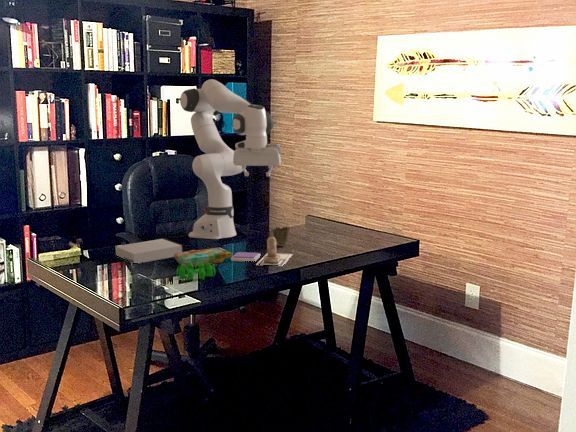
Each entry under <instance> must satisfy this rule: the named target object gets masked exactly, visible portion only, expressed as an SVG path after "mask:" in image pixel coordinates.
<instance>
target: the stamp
mask: <svg viewBox="0 0 576 432" xmlns="http://www.w3.org/2000/svg"><path fill="white" fill-rule="evenodd" d="M266 250H267V253H266V254H267V255H266V254H265V255H264V256H263V257H264V263H273V264H278V263H279V262H280V255H277V254H278V253H277V242H276V239H275V238H274V236H269V237H268V238H267V240H266Z"/></svg>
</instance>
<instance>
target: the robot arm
mask: <svg viewBox="0 0 576 432" xmlns="http://www.w3.org/2000/svg"><path fill="white" fill-rule="evenodd" d="M179 101H180V106H181V108H182V109H183V110H184V111H185V112H188V113H193V114H192V115H191V118H190V124H191V129H192V132H193V135H194V138H195V140H196V143H197V145H198V148H199V149H200V151H201V152H203V153H204V154H200V155H197V156H195V157H194V159H193V160H192V171H193V173H194V174H195V176H196V177H198V178H199V179H200V180H202V181H203V184H204V185H205V187H206V190H207V199H208V202H207V203H208V205H206V207H204V209H203V212H204V213H205V214H203V215H202V216H200V218H198V219H197V220H196V221H195V222H194V223H193V228H192V229H193V230H192V231H190V232H189V233H188V237H189V238H194V239H209V240H219V239H228V238H232V237H235V236H237V234H238V233H237V231H236V228H235V223H234V212H235V211H234V205H233V193H232V188H231V187H230V186H229V185H227V184H226V183H223V181H222V179H221V177H229V176H235V175H238V174H241V173H242V172H243V174H244V177H249V175H250V172H249V171H247V169H246V168H247V167H248V166H249V167H250V166H251V167H252V166H253V167H257V166H258V167H263V166H264V167H265V166H267V167H268V171H266V172H265V174H266V175H265V176H266V177H269V178H270V177H271V172H272V170H273V168H274V167H278V166H280V165H281V164H282V159H281V153H282V148H281V146H280V145H279V144H278V143H268V135H269V133H270V132H271V131H272V130H273V128H274V118H273V117H272V115H271V114H270V113H269V112H268V111H266V109H265V106H263V105H262V104H261V105H260V104H254V103H253V104H252V102H250V101H249V100H247V99H246V98H243V97H242V96H240V95H237V94H236V93H235V92H233V91H231V90H230V89H228V88H227V86H225V85H224V84H223V83H222V82H220V81H218V80H216V79H212V78H211V79H207V80H206V81H204V82H203V84H202V85H201V88H189V89H185V90H184V91H182V93H181V95H180V99H179ZM219 113H220V114H221V113H222V114H223V113H224V114H235V115H234V116H233V118H232V121H231V126H232V130H233V131H234V133H235V134H237V136H238V135H239V136H245V140H242V141H239V142H236V143H235V145H234V146H235V150H234V149H232V148H230V147H229V146H228V145H227V144H226V143H225V142H224V140H223V139H222V137H221V135H220V133H219V131H218V128H217V126H216V124H215V121H214V119H213V117H214V116H218V115H219Z"/></svg>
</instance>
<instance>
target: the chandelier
mask: <svg viewBox="0 0 576 432" xmlns="http://www.w3.org/2000/svg"><path fill="white" fill-rule="evenodd" d="M192 260H195V267H193V265H192V263H191V262H189V263H188V265H187V267H186V266H185V265H181V264H179V265H178V266H176V277H177V278H178V279H179V280H180V279H182V278H183V279H184V278H185V279H186V278H187V279H186V280H187V281H189V282H190V281H191V280H193V279H194V278H195V277H194V274H195V273H198V279H200V280H202V281H204V280H205V278H206V277H207V278H208V277H211V278H213V277H215V275H216V268H215V265H214V264H211V263H208V264H206V265H204V263H203V262H200V263H199V266H196V260H199V259H198V258H192ZM197 267H198V268H197Z"/></svg>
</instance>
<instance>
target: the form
mask: <svg viewBox="0 0 576 432" xmlns="http://www.w3.org/2000/svg"><path fill="white" fill-rule="evenodd" d="M265 255H267V253H265ZM277 255H280V262H279V263H278V264H270V263H264V256H263V257H262V258H261V259H260V260H258V261H257V263H255V266H263V265H278V266H277V267H284V266H285V265H286V264H287V262H288V261H289V260H290V259H291V257H292V256H293V255H294V254H293V253H277ZM289 258H290V259H289ZM259 264H260V265H259ZM284 264H285V265H284ZM283 265H284V266H283Z"/></svg>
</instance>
